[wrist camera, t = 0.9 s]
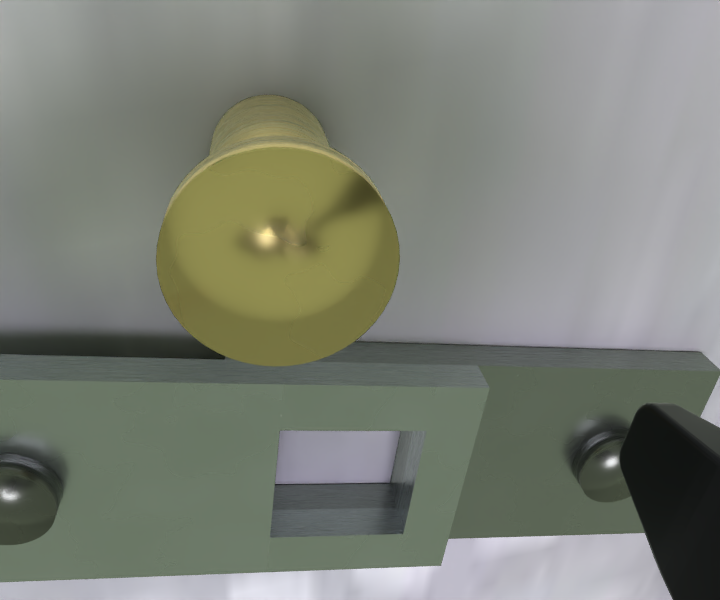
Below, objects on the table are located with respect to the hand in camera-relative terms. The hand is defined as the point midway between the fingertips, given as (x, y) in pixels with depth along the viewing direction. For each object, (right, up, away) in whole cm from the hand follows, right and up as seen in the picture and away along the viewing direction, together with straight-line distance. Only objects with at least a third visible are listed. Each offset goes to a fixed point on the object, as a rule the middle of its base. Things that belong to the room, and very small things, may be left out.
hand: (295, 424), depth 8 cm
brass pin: (-2, +6, +10) cm, 12 cm away
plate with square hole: (0, -3, +15) cm, 16 cm away
